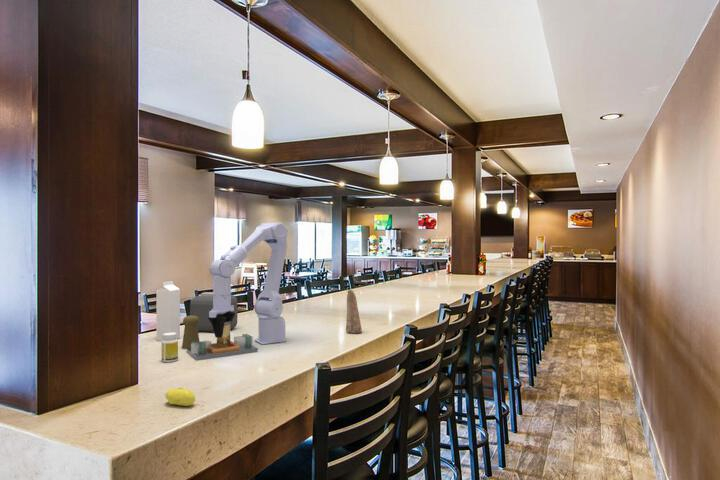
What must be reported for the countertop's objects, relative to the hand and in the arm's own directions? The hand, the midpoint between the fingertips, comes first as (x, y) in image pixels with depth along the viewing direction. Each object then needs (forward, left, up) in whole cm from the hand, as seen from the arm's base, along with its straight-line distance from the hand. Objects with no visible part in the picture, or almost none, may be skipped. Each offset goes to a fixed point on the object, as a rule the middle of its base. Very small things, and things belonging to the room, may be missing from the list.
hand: (222, 335), depth 155 cm
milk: (+11, -31, -6) cm, 33 cm away
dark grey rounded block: (-8, -39, -6) cm, 40 cm away
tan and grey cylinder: (0, 0, -2) cm, 2 cm away
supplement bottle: (+17, +2, -6) cm, 18 cm away
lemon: (+23, +44, -6) cm, 50 cm away
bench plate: (0, 0, -5) cm, 5 cm away
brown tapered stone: (-54, -2, -6) cm, 54 cm away
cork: (+7, -13, -6) cm, 16 cm away
